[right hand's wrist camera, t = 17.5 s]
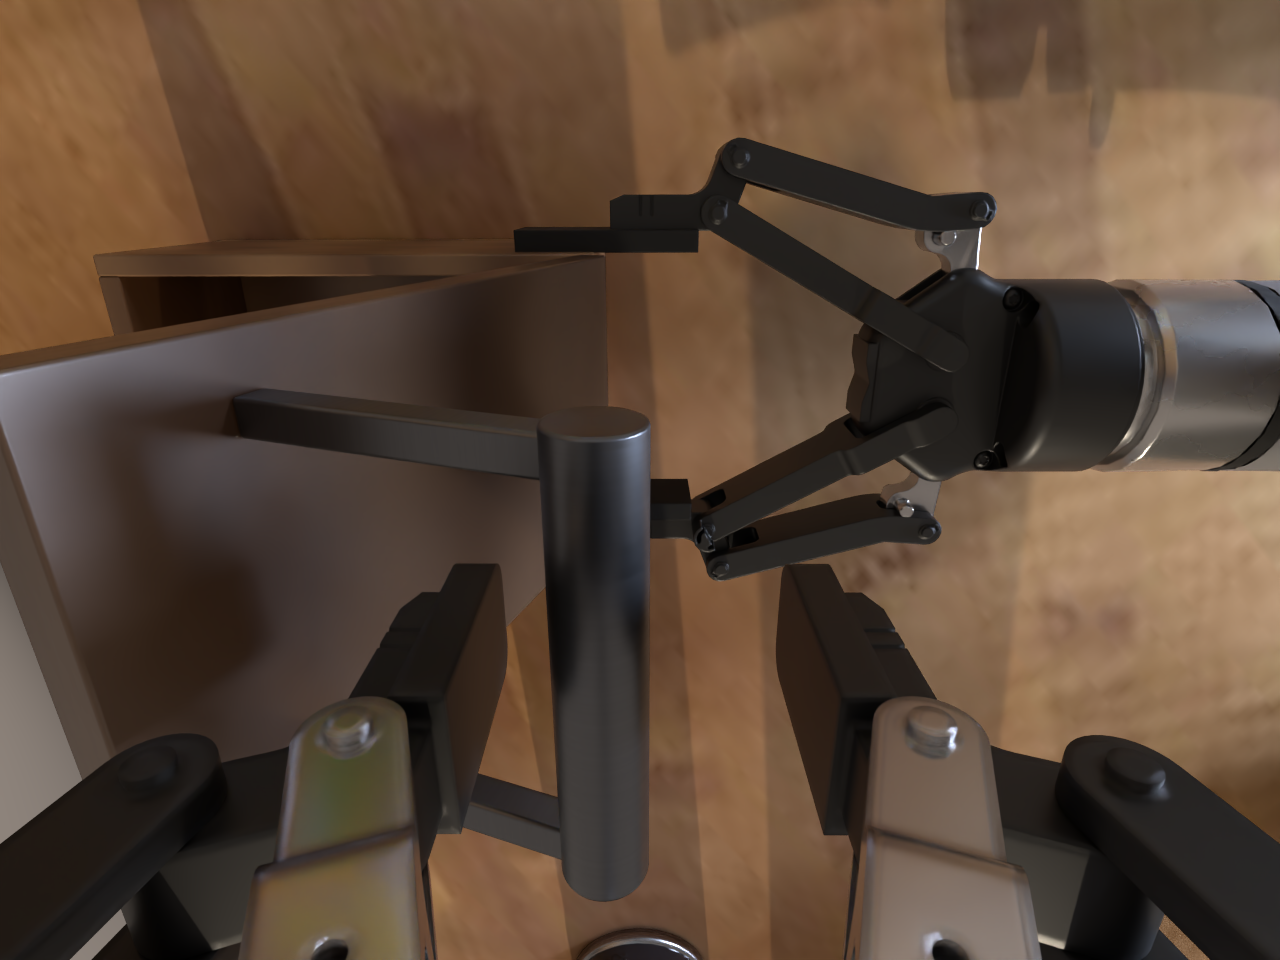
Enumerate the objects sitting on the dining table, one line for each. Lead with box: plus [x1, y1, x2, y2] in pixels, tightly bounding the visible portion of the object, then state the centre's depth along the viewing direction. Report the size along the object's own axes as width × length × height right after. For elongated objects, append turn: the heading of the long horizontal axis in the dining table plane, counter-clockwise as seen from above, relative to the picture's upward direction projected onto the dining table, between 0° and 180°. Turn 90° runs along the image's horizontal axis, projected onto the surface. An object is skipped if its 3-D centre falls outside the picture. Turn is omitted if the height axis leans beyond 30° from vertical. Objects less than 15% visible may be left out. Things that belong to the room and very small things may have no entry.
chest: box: [93, 239, 605, 336], centre depth 30 cm, size 17×10×9 cm, turn 90°
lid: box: [0, 255, 650, 902], centre depth 17 cm, size 18×10×8 cm
